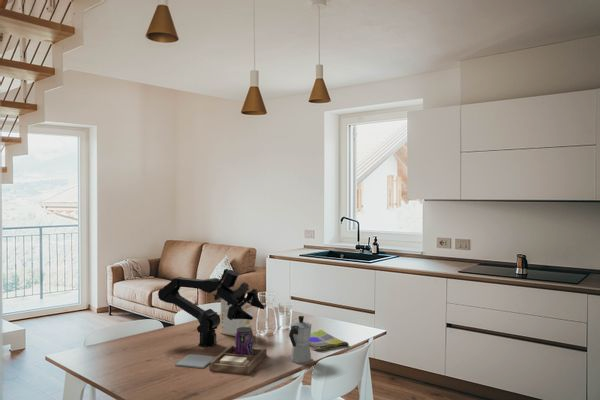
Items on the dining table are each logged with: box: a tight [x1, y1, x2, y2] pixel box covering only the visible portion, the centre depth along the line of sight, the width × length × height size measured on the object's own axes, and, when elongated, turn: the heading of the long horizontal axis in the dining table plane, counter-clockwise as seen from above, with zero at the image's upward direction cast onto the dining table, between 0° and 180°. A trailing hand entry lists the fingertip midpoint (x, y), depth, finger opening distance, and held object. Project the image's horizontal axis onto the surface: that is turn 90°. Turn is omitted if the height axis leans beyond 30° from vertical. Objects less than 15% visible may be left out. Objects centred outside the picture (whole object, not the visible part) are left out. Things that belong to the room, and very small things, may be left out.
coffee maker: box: [288, 315, 312, 364], centre depth 193 cm, size 15×9×18 cm, turn 150°
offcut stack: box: [220, 356, 250, 366], centre depth 185 cm, size 11×6×4 cm, turn 77°
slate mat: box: [174, 353, 217, 369], centre depth 191 cm, size 12×12×1 cm
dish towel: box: [308, 329, 350, 352], centre depth 219 cm, size 18×24×3 cm
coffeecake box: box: [220, 293, 254, 337], centre depth 229 cm, size 15×7×20 cm, turn 58°
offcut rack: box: [209, 344, 268, 375], centre depth 191 cm, size 16×22×3 cm
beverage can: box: [234, 327, 254, 356], centre depth 196 cm, size 7×7×12 cm
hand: (258, 313), depth 204 cm, fingers open, 9 cm apart
